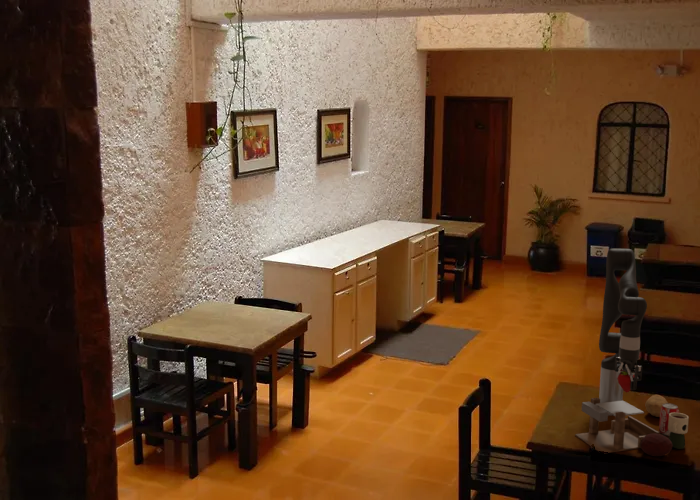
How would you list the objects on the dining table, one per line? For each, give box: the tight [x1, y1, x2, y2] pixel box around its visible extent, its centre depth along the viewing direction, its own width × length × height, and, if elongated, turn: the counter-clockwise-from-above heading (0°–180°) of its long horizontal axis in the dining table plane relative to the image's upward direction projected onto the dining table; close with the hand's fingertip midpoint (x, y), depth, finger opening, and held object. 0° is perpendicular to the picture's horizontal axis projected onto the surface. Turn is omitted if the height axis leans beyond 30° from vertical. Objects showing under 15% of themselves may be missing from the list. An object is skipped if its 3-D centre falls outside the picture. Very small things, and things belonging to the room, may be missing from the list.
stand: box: [574, 397, 660, 454], centre depth 302 cm, size 26×18×15 cm
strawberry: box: [617, 371, 634, 393], centre depth 300 cm, size 6×8×10 cm
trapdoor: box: [581, 400, 645, 423], centre depth 300 cm, size 20×13×4 cm, turn 107°
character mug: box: [668, 412, 690, 450], centre depth 296 cm, size 11×7×13 cm, turn 142°
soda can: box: [658, 402, 680, 437], centre depth 309 cm, size 7×7×12 cm
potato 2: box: [640, 433, 674, 457], centre depth 289 cm, size 12×11×8 cm
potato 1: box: [644, 394, 669, 418], centre depth 329 cm, size 10×14×8 cm
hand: (626, 386), depth 301 cm, fingers closed on strawberry, 7 cm apart
